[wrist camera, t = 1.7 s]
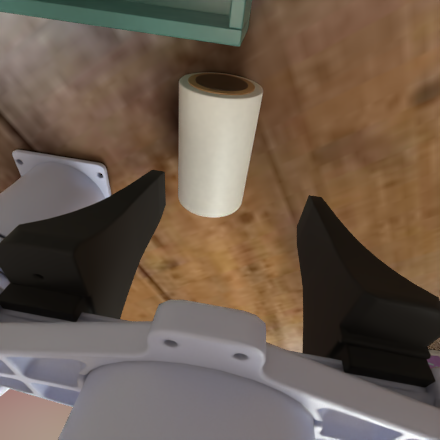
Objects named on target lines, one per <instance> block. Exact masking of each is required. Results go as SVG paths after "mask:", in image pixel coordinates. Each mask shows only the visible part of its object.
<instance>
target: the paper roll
mask: <svg viewBox="0 0 440 440" xmlns="http://www.w3.org/2000/svg"><path fill="white" fill-rule="evenodd" d="M262 95H263V88H262V87H261V86H260V85H259V84H257V83H256V82H254V81H252V80H249V79H247V78H243V77H240V76H236V75H231V74H224V73H214V72H200V73H192V74H188V75H185V76H183V77H181V78H180V80H179V163H178V198H179V201H180V203H181V204H182V206H183V207H184V208H186V209H187V210H188V211H190V212H192V213H194V214H197V215H200V216H204V217H223V216H227V215H229V214H232V213H234V212H235V211H236V210H237V209H238V208H239V207H240V205H241V203H242V198H243V193H244V188H245V183H246V178H247V172H248V167H249V162H250V157H251V152H252V147H253V142H254V136H255V131H256V126H257V121H258V116H259V111H260V106H261V100H262Z"/></svg>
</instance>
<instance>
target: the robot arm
mask: <svg viewBox="0 0 440 440" xmlns="http://www.w3.org/2000/svg"><path fill="white" fill-rule="evenodd" d="M12 156H13V158H14V160H15V163H16V165H17V167H18V170H19V172H20V174H21V178H20V179H18V180H17V181H16V182H15V183H13V184H12V185H11V186H9V187H8V188H7V189H6V190H4V191H3V192H2V193H0V396H1V395H2V394H4V393H5V392H6V391H7V390H9V389H12V390H16V391H20V392H23V393H26V394H30V395H33V396H37V397H40V398H44V399H47V400H50V401H54V402H57V403H61V404H65V405H68V406H71V407H73V408H72V410H71V413H70V415H69V417H68V419H67V421H66V424H65V425H64V427H63V430H62V432H61V434H60V436H59V438H58V440H440V367H434V368H430V366H429V364H428V361H427V359H429V358H431V354H430V352H429V350H428V347H427V346H429V345H430V344H431V343H433V342H434V341H435V340H437V339H438V338H439V337H440V301H439V299H438V297H436V296H435V295H433V294H431V293H429V292H428V291H426V290H424V289H422V288H421V287H419V286H417V285H415V284H414V283H412V282H410V281H409V280H407V279H406V278H404V277H403V276H401V275H400V274H398V273H397V272H395V271H394V270H392V269H391V268H390V267H388V266H387V265H386V264H384V263H383V262H382V261H380V260H379V259H378V258H377V257H375V256H374V255H373V254H372V253H371V252H370V251H369V250H367V249H366V248H365V247H364V246H363V245H362V244H361V243H360V242H359V241H358V240H357V239H356V238H355V237H354V236H353V235H352V234H351V233H350V232H349V231H348V230H347V228H346V227H345V226H344V225H343V224H342V223H341V221H340V220H339V219H338V218H337V216H336V215H335V214H334V213H333V211H332V210H331V209H330V207H329V206H328V205H327V204H326V202H325V201H324V200H323V199H322V197H316V196H310V195H309V197H308V199H307V202H306V204H305V207H304V210H303V212H302V215H301V217H300V220H299V223H298V225H297V248H298V255H299V262H300V269H301V276H302V285H303V353H299V352H294V351H288V350H285V349H282V348H280V347H277V346H275V345H272V344H269V343H267V342H266V325H265V323H264V322H263V321H262V320H261V319H260V318H258V317H257V316H256V315H254V314H251V313H249V312H246V311H242V310H236V309H231V308H225V307H220V306H214V305H209V304H203V303H198V302H192V301H187V300H169V301H166V302H164V303H161V304H159V306H158V308H157V311H156V314H155V316H154V319H153V321H144V322H132V321H126V320H121V319H120V317H121V314H122V310H123V307H124V304H125V301H126V298H127V295H128V292H129V289H130V286H131V284H132V281H133V278H134V275H135V272H136V270H137V267H138V265H139V262H140V259H141V257H142V255H143V253H144V251H145V249H146V247H147V245H148V243H149V241H150V239H151V237H152V235H153V234H154V232H155V230H156V228H157V226H158V224H159V222H160V219H161V217H162V214H163V211H164V208H165V205H166V200H165V172H163V171H156V170H152V171H150V172H148V173H147V174H145V175H144V176H142V177H141V178H139V179H138V180H136V181H135V182H133V183H132V184H130V185H128V186H127V187H125V188H124V189H122V190H120V191H118V192H117V193H115V194H113V195H111V190H110V185H109V179H108V174H107V169H106V167H105V165H103V164H102V163H98V162H92V161H86V160H80V159H74V158H68V157H61V156H55V155H49V154H43V153H37V152H31V151H25V150H19V149H16V150H15V151H13V152H12ZM100 173H101V174H102V175H103V176H102V175H100Z"/></svg>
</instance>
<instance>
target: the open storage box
mask: <svg viewBox="0 0 440 440" xmlns="http://www.w3.org/2000/svg"><path fill="white" fill-rule="evenodd" d="M251 5H252V0H0V12H6V13H13V14H20V15H26V16H33V17H40V18H47V19H54V20H61V21H68V22H74V23H81V24H88V25H95V26H102V27H109V28H115V29H122V30H129V31H136V32H143V33H150V34H156V35H163V36H170V37H177V38H184V39H191V40H198V41H204V42H211V43H218V44H225V45H232V46H240V45H241V43H242V41H243V39H244V37H245V35H246V33H247V30H248V26H249V19H250V12H251Z"/></svg>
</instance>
